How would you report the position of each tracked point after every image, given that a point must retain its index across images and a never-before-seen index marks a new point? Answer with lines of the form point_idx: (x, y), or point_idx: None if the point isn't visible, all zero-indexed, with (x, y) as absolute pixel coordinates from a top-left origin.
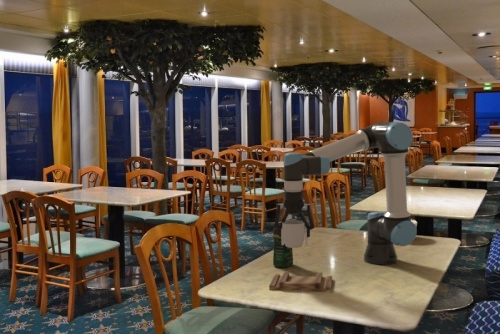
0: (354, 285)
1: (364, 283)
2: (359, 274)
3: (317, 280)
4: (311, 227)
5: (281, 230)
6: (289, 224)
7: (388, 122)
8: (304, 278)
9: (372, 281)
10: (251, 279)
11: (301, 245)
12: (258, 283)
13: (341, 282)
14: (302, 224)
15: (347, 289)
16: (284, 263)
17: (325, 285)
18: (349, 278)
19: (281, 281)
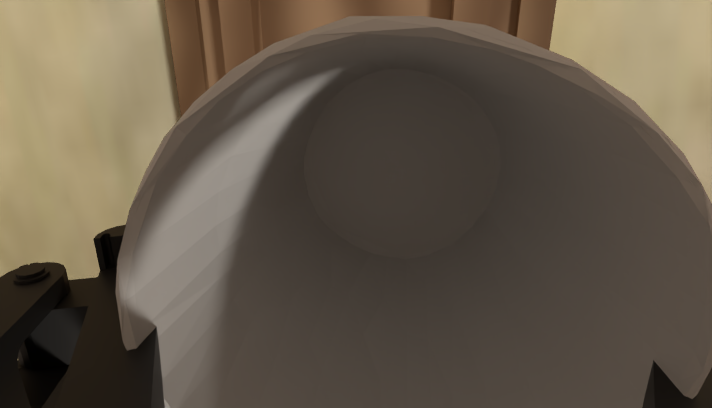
0: (69, 85)
1: (30, 127)
2: (89, 272)
3: (240, 19)
4: (55, 271)
5: None
6: (510, 38)
7: None
8: None
9: (3, 165)
10: (676, 142)
11: (307, 137)
12: (631, 60)
13: (144, 133)
14: (143, 194)
15: (86, 3)
16: None
17: (202, 14)
18: (120, 206)
19: None
